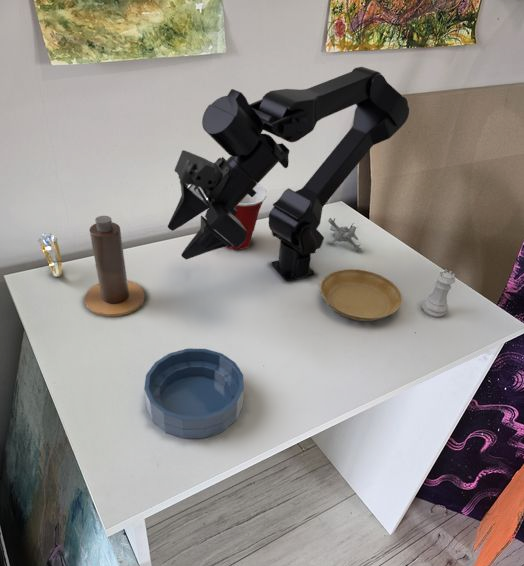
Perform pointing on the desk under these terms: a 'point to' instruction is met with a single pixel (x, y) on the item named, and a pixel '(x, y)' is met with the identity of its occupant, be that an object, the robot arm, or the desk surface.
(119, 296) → the bottle
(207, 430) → the bowl
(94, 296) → the cork coaster
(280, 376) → the desk surface
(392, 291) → the plant saucer
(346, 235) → the gray branched figurine
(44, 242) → the ring
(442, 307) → the rook chess piece
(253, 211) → the plastic cup
